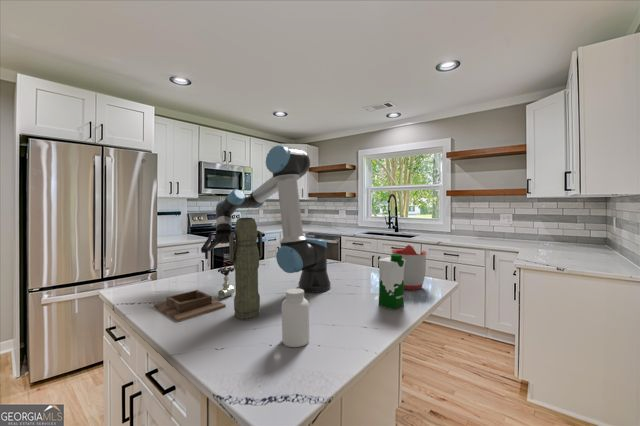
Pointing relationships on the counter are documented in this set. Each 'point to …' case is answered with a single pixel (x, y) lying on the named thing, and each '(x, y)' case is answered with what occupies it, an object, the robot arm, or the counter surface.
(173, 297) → the dock board
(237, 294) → the thermos
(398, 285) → the milk carton
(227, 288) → the valve
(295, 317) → the pill bottle
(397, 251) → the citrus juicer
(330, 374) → the counter surface
